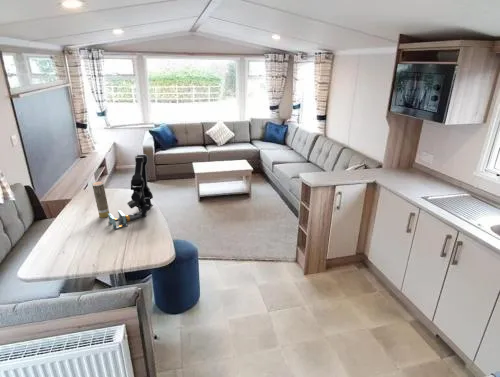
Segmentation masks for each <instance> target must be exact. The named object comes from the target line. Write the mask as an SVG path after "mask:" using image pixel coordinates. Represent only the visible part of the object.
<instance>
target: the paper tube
mask: <svg viewBox="0 0 500 377" xmlns="http://www.w3.org/2000/svg"><path fill="white" fill-rule="evenodd" d="M92 189H93V190H92V191H93V194H94V198H95V203H96V207H97V211H98V216H99V218H102V219H105V218H107V217H108V213H110V209H109V205H108V201H107V200H108V199H107V194H106V189H105V186H104V182H103V181H94V182H93V183H92ZM108 218H109V217H108Z"/></svg>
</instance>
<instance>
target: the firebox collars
mask: <svg viewBox="0 0 500 377" xmlns="http://www.w3.org/2000/svg"><path fill="white" fill-rule="evenodd" d="M117 213H118V217H114V216H113V214H112V213H111V212H109V213H108V223H109V224H110V225H112V228H113V229H114V231H116V230H120V229H123V228H126V227H128V223H127V222H126V218H125V216H126V214H124V213H123V210H121V209H119V210H117ZM119 217H122V220H123V223H122V224H120V225H118V226H117V224H116V223H117V221H118V222H119V220H118V218H119Z"/></svg>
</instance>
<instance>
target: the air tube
mask: <svg viewBox="0 0 500 377" xmlns="http://www.w3.org/2000/svg"><path fill="white" fill-rule="evenodd" d="M146 216H147V213H146V214H145V216H144V217H146ZM144 217H143V215H142V212H140V211H138V212H134V213H131V214H127V215H126V214H125V218H126V223H127V222H131V221H134V220H137V219H140V218H144ZM117 218H118V223H119V224H123V220H122V217H119V216H118V217H117Z"/></svg>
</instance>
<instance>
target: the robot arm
mask: <svg viewBox="0 0 500 377" xmlns="http://www.w3.org/2000/svg"><path fill="white" fill-rule="evenodd" d="M134 161H135V167H134V174H133V175H132V177H131V180H130V190H131V191H133V193H132V194H131V200H129V201H128V202H127V203H126V204H127V206H128V207H129V208H130V210H131V209H134V208H137V209H138V212H142V215H143V217H142V218H144V217H146V216H145V214H146V215H147V211H150V210H151V207H153V206H154V204H152V200H153V198H154V195H153V192H152V191H151V188H150V187H149V186H148V176H147V165H148V164H149V155H148V154H146V153H144V154H143V153H139V154H137V155H135V156H134Z"/></svg>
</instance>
